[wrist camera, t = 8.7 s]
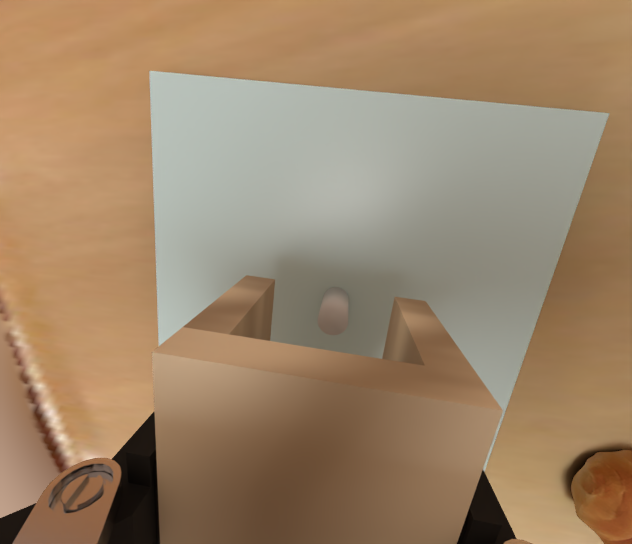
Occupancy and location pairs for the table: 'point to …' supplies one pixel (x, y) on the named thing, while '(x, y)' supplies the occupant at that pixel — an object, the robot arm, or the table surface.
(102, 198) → the table surface
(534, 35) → the table surface
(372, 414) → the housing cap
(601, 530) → the pastry
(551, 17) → the table surface
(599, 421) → the table surface
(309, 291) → the base plate
